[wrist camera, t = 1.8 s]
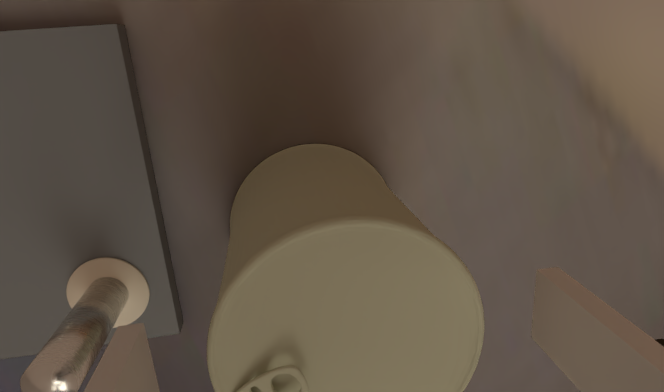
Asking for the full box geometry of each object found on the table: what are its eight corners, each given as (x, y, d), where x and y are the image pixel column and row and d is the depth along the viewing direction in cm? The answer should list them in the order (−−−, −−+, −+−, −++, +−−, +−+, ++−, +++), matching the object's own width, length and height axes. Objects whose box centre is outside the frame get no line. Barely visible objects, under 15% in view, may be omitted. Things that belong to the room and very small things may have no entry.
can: (198, 188, 24) (140, 309, 13) (356, 114, 24) (440, 167, 13) (276, 321, 27) (285, 515, 16) (415, 255, 27) (526, 401, 16)
